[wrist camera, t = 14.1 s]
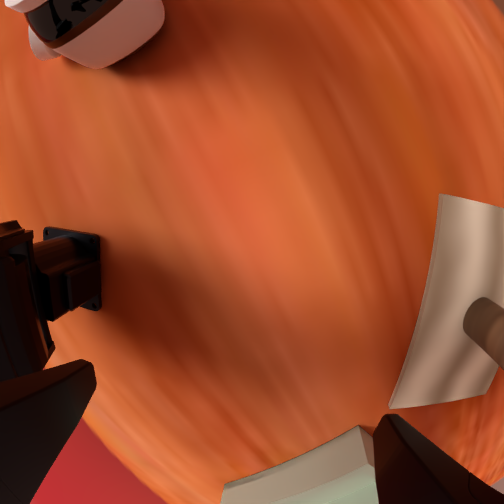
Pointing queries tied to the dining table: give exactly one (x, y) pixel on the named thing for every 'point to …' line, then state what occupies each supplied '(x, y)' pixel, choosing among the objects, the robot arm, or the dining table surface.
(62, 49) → the spread jar
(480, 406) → the dining table surface
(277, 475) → the grey rectangular tray
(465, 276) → the lid
